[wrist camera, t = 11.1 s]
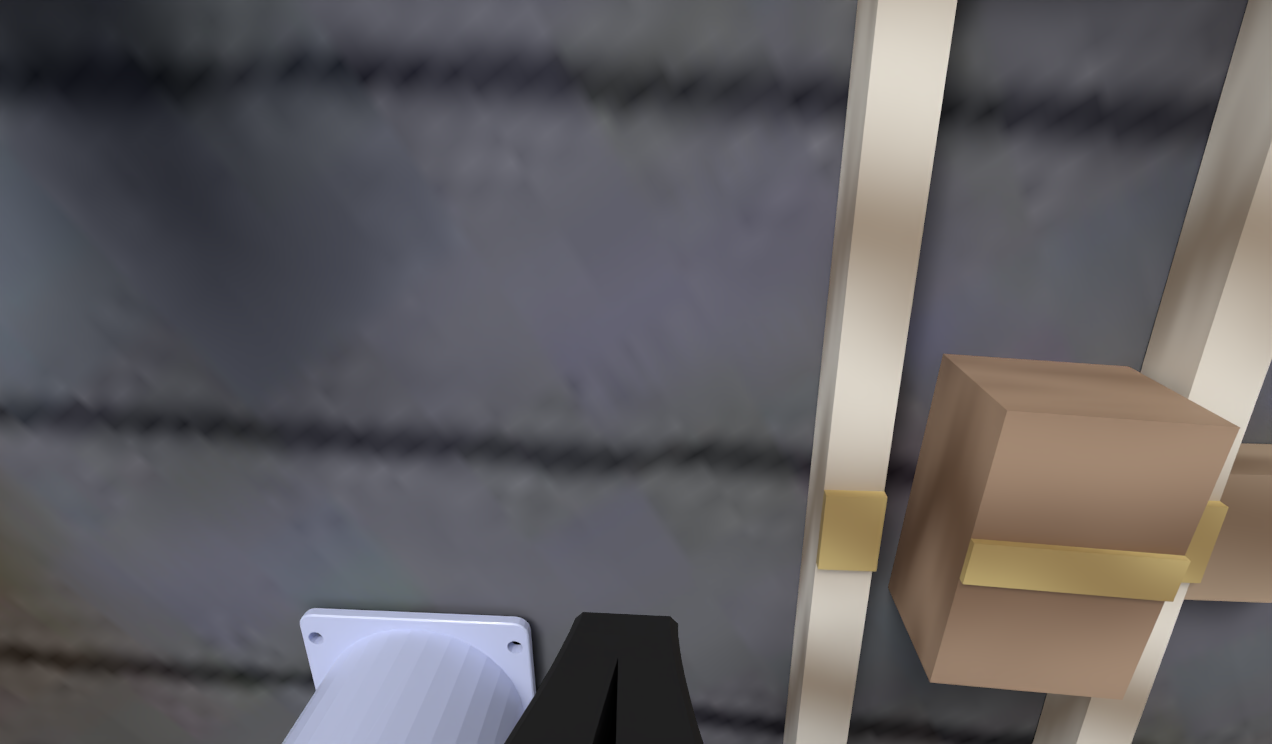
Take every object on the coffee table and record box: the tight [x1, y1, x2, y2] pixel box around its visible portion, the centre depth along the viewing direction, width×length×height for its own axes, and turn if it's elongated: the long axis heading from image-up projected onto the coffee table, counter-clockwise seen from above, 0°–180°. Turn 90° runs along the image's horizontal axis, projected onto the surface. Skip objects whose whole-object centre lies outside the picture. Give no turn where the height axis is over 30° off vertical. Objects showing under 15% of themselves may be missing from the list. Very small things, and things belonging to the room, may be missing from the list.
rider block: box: [888, 354, 1240, 700], centre depth 18 cm, size 8×5×4 cm, turn 177°
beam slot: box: [783, 0, 1272, 744], centre depth 18 cm, size 32×13×2 cm, turn 0°
